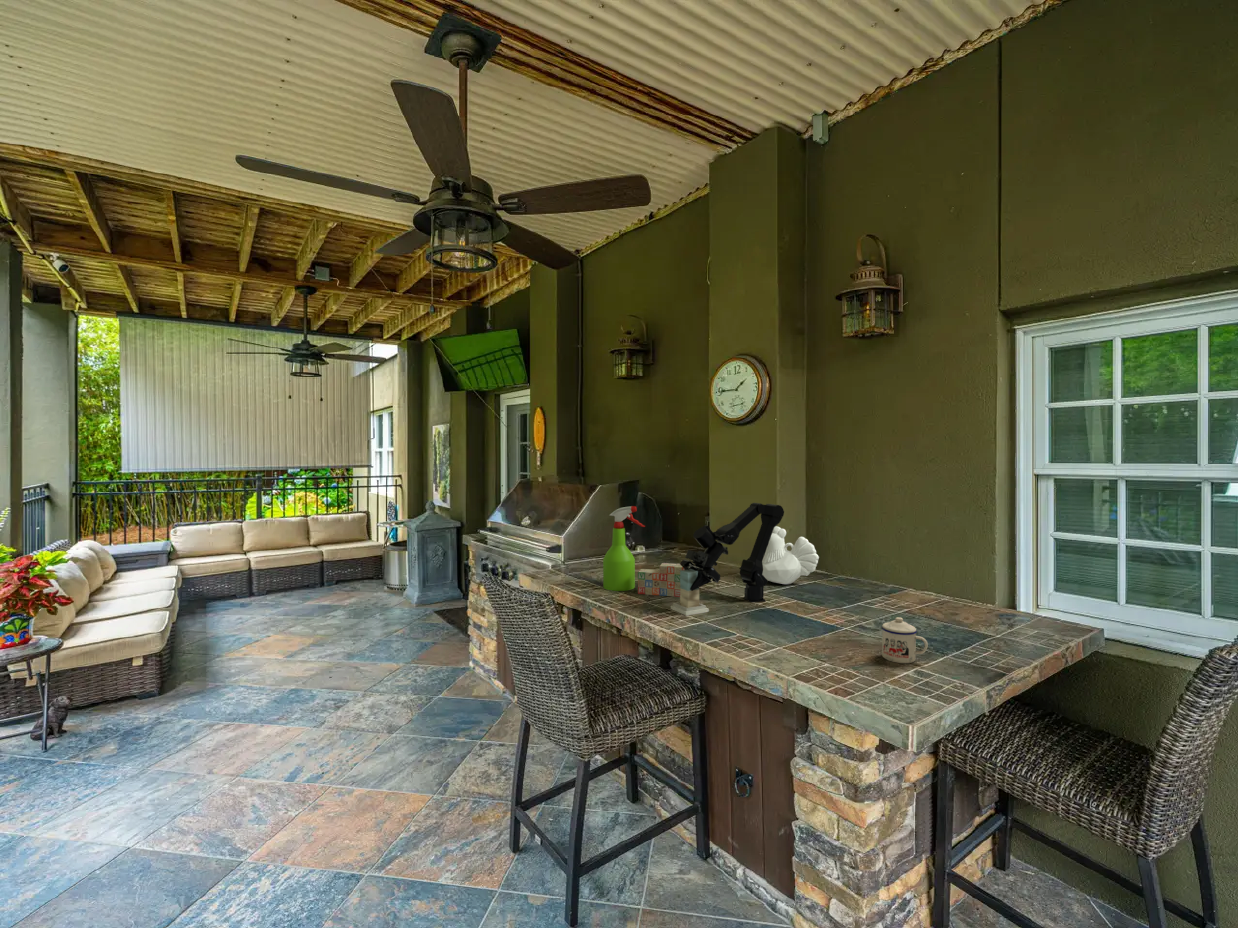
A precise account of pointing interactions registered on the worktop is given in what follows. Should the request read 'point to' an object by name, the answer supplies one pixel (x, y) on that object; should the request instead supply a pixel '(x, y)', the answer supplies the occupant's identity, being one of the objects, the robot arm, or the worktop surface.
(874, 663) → the worktop surface
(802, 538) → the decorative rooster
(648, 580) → the stack of blocks
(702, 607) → the base plate
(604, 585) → the spray bottle
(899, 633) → the teacup with lid
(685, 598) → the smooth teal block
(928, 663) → the worktop surface
